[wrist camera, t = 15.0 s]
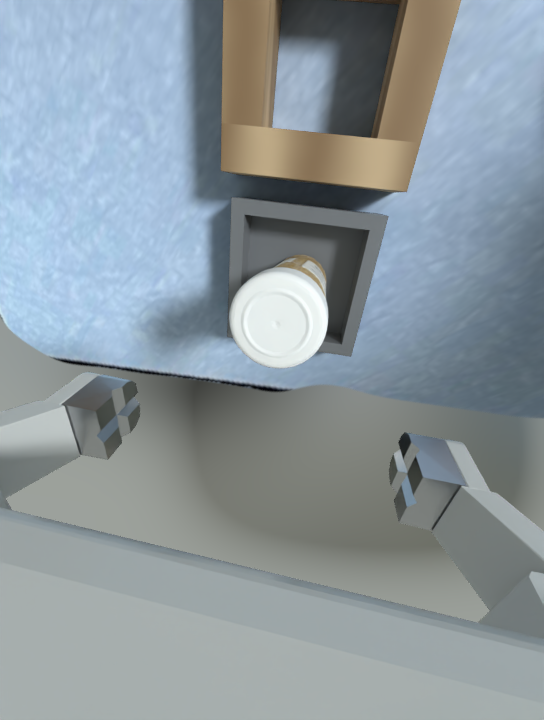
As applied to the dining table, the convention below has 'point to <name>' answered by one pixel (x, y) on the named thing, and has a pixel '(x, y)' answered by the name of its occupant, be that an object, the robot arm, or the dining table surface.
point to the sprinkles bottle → (281, 313)
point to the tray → (315, 239)
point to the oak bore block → (321, 150)
